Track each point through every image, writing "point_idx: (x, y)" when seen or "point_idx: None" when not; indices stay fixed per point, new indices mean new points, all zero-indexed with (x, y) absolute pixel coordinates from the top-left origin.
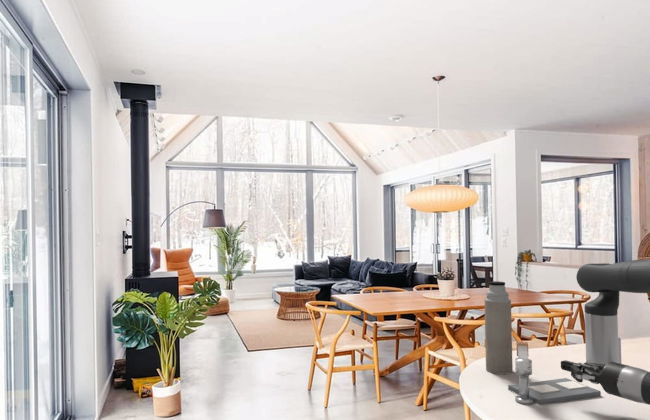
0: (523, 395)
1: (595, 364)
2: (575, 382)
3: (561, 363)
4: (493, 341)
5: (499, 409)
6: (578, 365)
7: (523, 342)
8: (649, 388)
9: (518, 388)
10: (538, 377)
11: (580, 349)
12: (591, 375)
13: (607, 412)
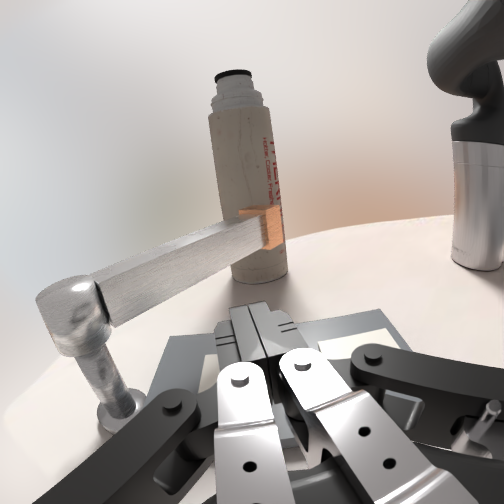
0: (102, 404)
1: (434, 385)
2: (388, 337)
3: (217, 325)
4: (224, 209)
5: (32, 417)
6: (237, 405)
7: (264, 206)
8: None
9: (171, 356)
10: (322, 297)
11: (451, 222)
12: None
13: None
